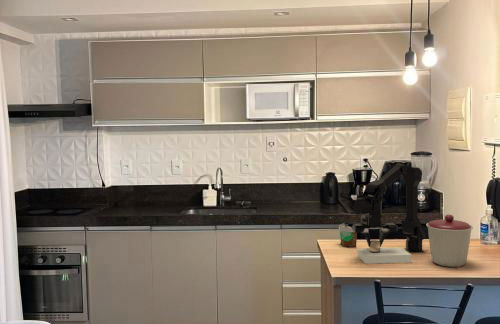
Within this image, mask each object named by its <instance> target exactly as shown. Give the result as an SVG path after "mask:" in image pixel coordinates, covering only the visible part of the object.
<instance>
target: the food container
mask: <svg viewBox="0 0 500 324" xmlns="http://www.w3.org/2000/svg"><path fill="white" fill-rule="evenodd" d="M338 231H339V238H340V240H339V241H340V246H341V247H344V248H350V249H352V248H354V249H355V248H357V240H358V232H354V231H353V230H352V226H348V225H346V224H345V223H341V224H339V225H338Z"/></svg>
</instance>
